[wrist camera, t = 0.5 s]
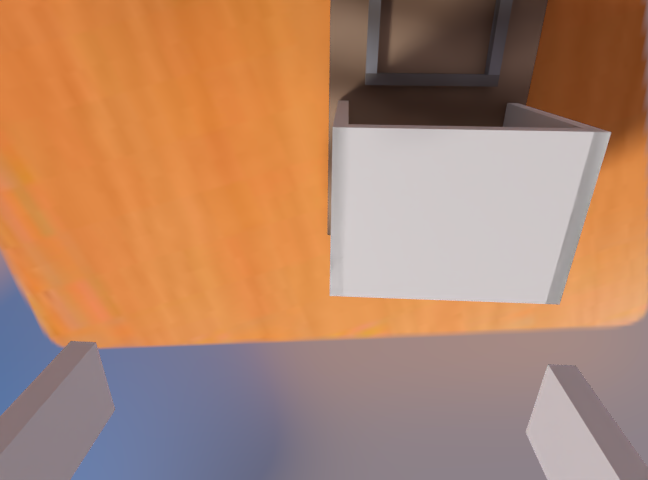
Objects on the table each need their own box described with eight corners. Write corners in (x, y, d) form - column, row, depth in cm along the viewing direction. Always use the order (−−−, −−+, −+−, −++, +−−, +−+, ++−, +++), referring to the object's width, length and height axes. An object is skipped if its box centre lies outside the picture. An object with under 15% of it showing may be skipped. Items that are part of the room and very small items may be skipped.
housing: (338, 100, 31) (332, 127, 20) (518, 103, 31) (611, 132, 20) (335, 220, 36) (329, 295, 25) (493, 224, 35) (559, 304, 24)
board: (332, -97, 27) (331, -109, 25) (560, -99, 27) (577, -111, 25) (328, 229, 38) (326, 239, 36) (493, 234, 37) (501, 244, 35)
